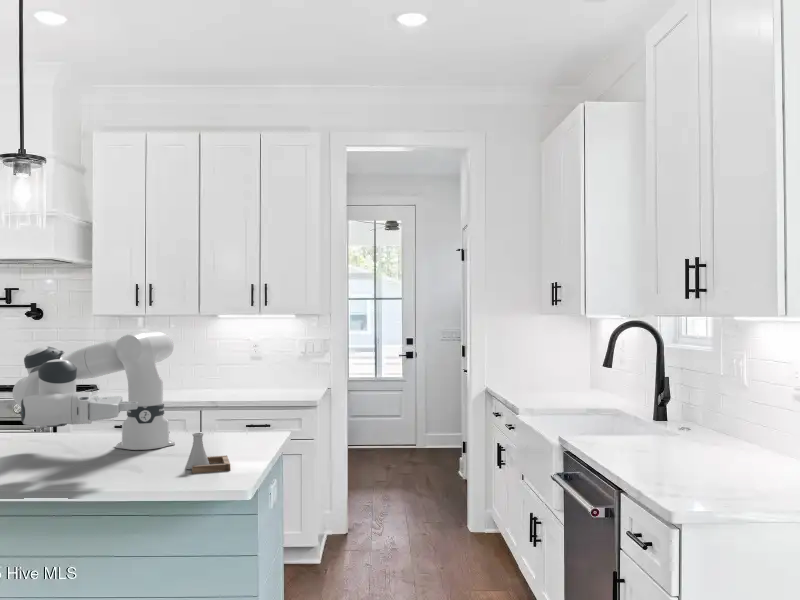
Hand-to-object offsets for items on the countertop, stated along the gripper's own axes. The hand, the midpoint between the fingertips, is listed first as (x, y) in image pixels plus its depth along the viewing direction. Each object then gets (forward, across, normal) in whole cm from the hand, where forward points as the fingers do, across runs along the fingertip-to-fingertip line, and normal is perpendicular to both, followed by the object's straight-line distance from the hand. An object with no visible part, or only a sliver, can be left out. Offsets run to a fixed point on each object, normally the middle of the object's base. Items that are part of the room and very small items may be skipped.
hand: (137, 405), depth 201 cm
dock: (+20, 0, -19) cm, 27 cm away
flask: (+16, -1, -19) cm, 25 cm away
